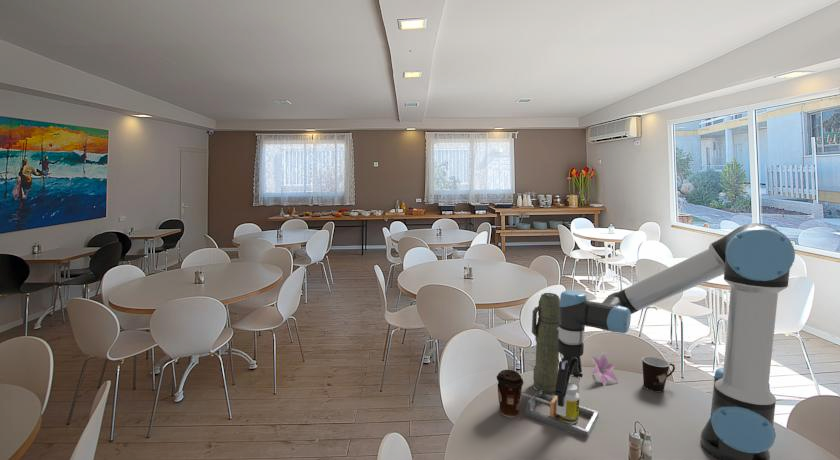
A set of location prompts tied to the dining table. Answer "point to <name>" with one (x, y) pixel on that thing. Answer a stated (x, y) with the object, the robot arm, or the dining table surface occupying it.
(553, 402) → the pusher
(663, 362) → the coffee mug
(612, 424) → the dining table surface
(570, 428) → the lane
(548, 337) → the thermos
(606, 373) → the lily
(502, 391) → the coffee cup
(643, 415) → the dining table surface
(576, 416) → the pill bottle
